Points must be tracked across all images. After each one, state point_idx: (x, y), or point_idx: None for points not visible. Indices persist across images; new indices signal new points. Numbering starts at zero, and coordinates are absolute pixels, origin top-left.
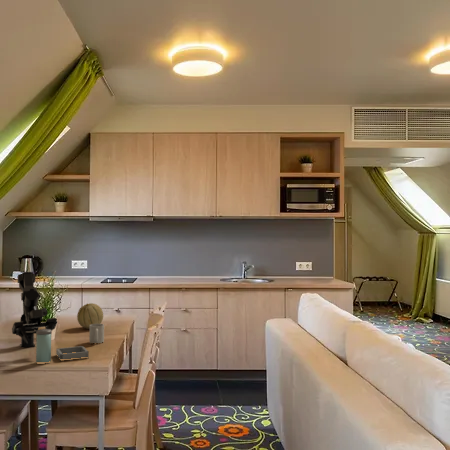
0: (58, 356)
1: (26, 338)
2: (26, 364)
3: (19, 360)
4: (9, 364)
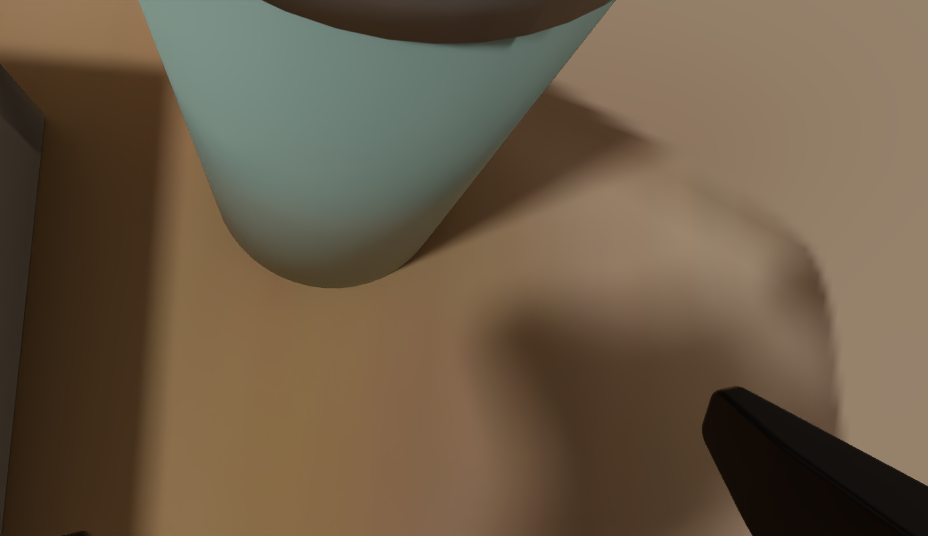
0: (5, 354)
1: (843, 448)
2: (572, 210)
3: (658, 500)
4: (778, 320)
